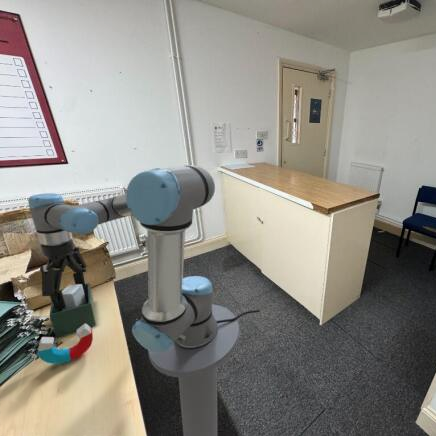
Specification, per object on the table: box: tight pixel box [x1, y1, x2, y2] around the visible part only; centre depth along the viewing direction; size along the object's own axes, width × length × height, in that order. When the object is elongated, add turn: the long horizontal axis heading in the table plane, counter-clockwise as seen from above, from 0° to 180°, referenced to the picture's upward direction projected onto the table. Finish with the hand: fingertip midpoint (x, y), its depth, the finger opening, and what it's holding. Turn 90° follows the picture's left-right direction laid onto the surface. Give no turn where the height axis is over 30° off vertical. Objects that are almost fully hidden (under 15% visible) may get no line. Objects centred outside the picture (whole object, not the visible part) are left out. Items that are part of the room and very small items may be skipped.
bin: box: [48, 282, 97, 339], centre depth 84 cm, size 14×10×10 cm
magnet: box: [37, 323, 94, 365], centre depth 71 cm, size 12×3×10 cm, turn 129°
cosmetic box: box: [62, 284, 87, 310], centre depth 84 cm, size 6×4×12 cm
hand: (71, 297), depth 83 cm, fingers open, 10 cm apart
